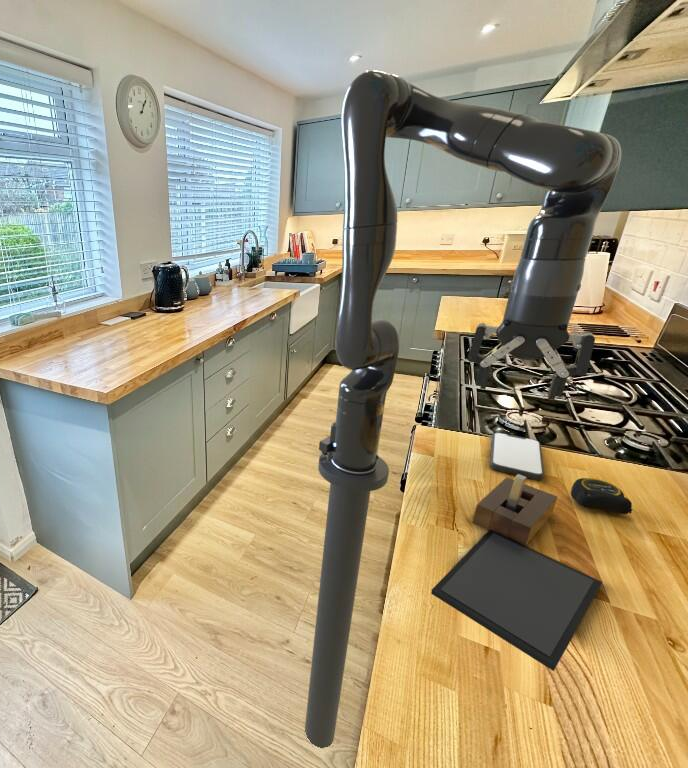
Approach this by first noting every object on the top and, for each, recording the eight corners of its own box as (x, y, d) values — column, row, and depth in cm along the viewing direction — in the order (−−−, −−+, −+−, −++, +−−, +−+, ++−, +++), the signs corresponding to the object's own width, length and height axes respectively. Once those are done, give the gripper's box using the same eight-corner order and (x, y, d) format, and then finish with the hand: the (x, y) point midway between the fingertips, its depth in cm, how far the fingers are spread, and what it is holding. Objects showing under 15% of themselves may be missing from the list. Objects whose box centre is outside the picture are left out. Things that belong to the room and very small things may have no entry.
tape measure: (577, 511, 74) (583, 494, 73) (562, 489, 80) (568, 473, 79) (628, 520, 72) (636, 503, 70) (609, 497, 77) (616, 480, 76)
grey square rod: (500, 524, 72) (515, 476, 69) (503, 521, 73) (518, 473, 69) (508, 528, 71) (524, 479, 68) (511, 525, 72) (526, 476, 68)
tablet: (430, 593, 60) (431, 588, 60) (488, 533, 71) (490, 528, 70) (553, 671, 49) (556, 666, 49) (600, 586, 60) (603, 581, 60)
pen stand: (472, 522, 73) (476, 504, 72) (501, 494, 80) (506, 476, 78) (524, 547, 67) (531, 528, 66) (551, 514, 74) (558, 496, 72)
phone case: (543, 483, 83) (539, 446, 94) (545, 476, 82) (541, 440, 94) (488, 470, 88) (491, 436, 99) (490, 463, 87) (492, 430, 99)
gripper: (607, 288, 59) (573, 393, 65) (484, 284, 67) (464, 377, 73) (616, 297, 53) (578, 411, 59) (481, 291, 62) (459, 391, 68)
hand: (515, 392), depth 66 cm, fingers open, 8 cm apart
